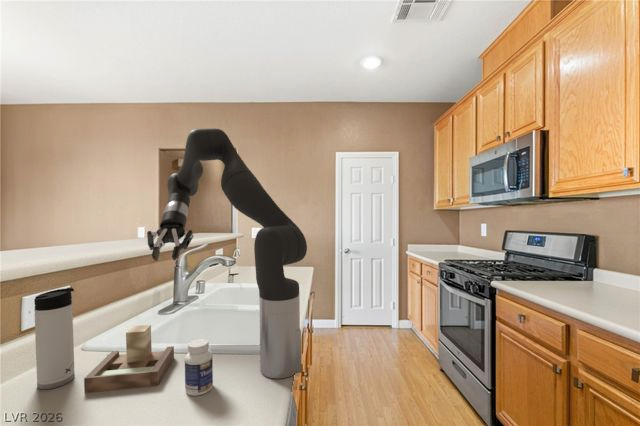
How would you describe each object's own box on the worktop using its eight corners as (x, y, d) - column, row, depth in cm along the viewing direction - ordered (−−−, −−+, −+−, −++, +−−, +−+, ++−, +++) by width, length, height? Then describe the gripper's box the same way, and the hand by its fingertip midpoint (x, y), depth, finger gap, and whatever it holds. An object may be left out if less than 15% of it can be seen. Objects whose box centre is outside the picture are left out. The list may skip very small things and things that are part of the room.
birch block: (151, 352, 77) (150, 324, 77) (145, 360, 73) (144, 331, 73) (133, 354, 76) (133, 326, 76) (126, 362, 73) (125, 332, 72)
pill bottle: (203, 398, 62) (202, 349, 62) (179, 395, 63) (178, 347, 63) (217, 383, 67) (217, 338, 67) (195, 380, 69) (194, 336, 68)
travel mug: (79, 380, 69) (76, 290, 68) (39, 393, 64) (35, 296, 64) (73, 370, 73) (70, 285, 73) (35, 382, 68) (32, 291, 68)
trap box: (174, 358, 79) (173, 346, 78) (157, 385, 67) (157, 371, 67) (112, 363, 76) (112, 351, 76) (84, 392, 64) (84, 378, 64)
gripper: (149, 209, 102) (134, 252, 91) (195, 209, 105) (187, 250, 93) (155, 225, 107) (142, 267, 96) (199, 224, 110) (191, 265, 98)
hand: (164, 258), depth 95 cm, fingers open, 4 cm apart
